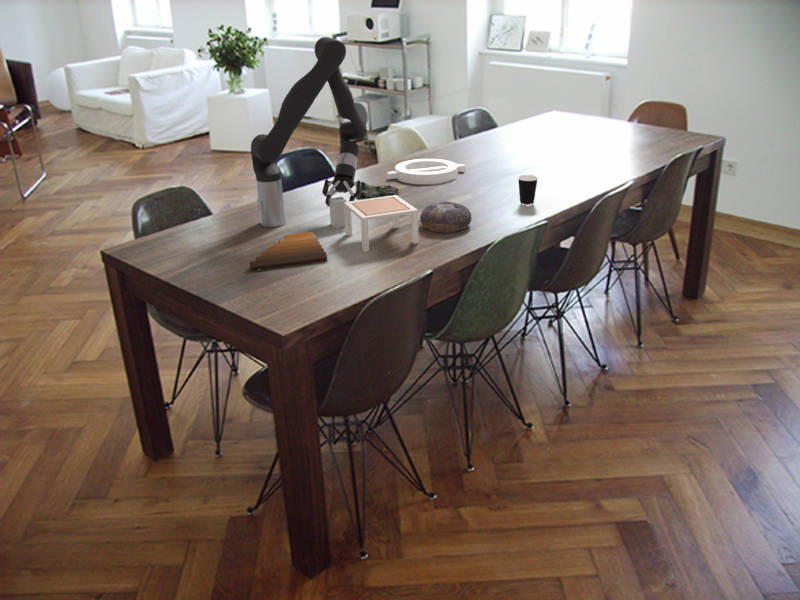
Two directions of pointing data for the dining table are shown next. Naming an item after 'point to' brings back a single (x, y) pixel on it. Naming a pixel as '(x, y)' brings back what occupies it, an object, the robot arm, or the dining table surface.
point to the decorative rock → (377, 190)
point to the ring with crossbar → (426, 171)
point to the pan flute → (291, 252)
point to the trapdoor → (379, 206)
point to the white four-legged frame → (395, 217)
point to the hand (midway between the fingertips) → (339, 206)
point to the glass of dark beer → (527, 188)
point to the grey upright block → (337, 212)
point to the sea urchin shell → (445, 217)
